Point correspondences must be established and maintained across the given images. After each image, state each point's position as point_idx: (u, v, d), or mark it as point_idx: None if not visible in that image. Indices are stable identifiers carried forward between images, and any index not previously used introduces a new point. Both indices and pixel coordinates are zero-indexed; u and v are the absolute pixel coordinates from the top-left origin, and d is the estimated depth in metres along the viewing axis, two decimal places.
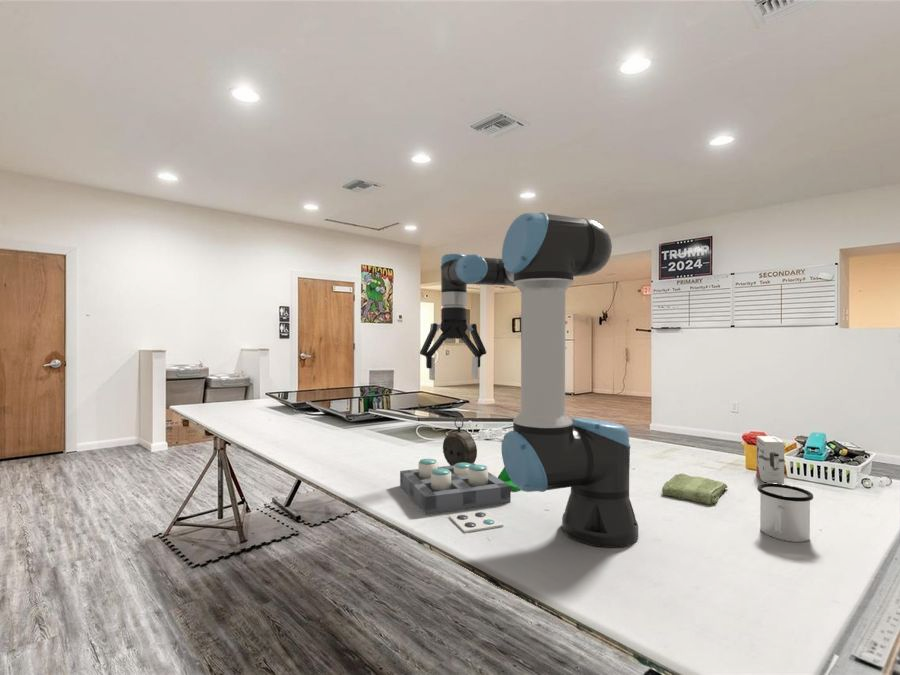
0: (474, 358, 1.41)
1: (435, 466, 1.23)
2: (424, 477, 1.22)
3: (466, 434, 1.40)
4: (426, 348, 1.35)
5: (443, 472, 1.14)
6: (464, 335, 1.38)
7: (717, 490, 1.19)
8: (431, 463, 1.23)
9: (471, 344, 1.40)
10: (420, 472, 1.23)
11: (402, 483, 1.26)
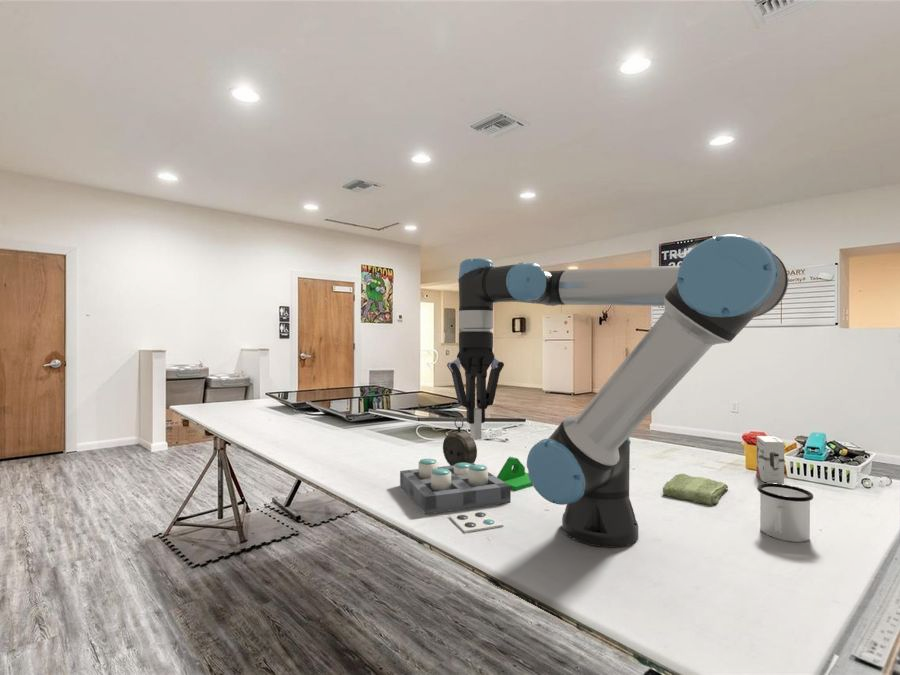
0: None
1: (435, 466, 1.23)
2: (424, 477, 1.22)
3: (466, 434, 1.40)
4: (463, 397, 1.01)
5: (443, 472, 1.14)
6: (483, 371, 1.02)
7: (718, 490, 1.18)
8: (431, 463, 1.23)
9: (483, 387, 1.02)
10: (420, 472, 1.23)
11: (402, 483, 1.26)
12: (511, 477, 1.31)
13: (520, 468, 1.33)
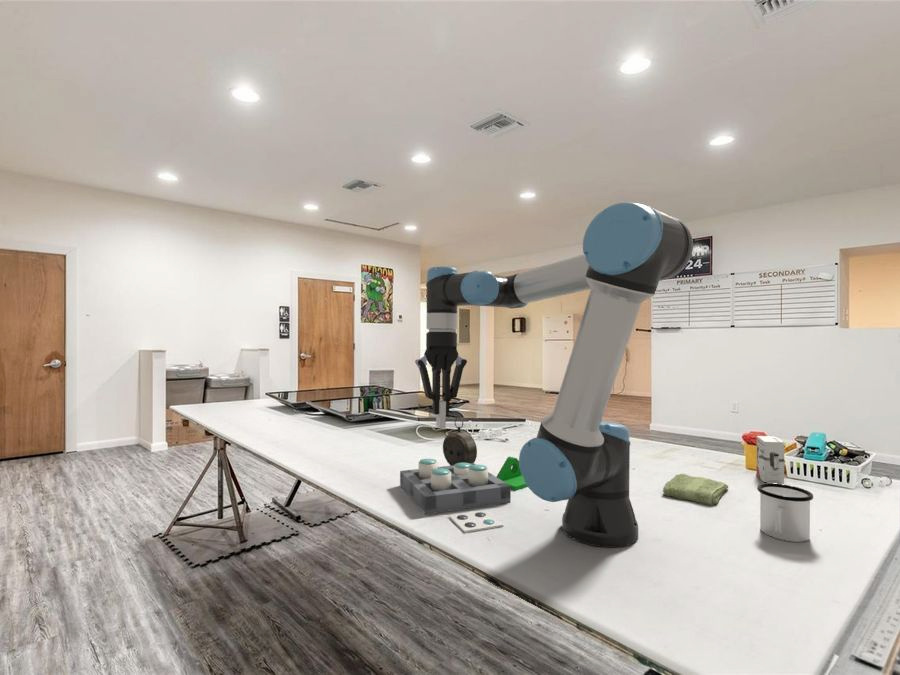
0: None
1: (435, 466, 1.23)
2: (424, 477, 1.22)
3: (466, 434, 1.40)
4: (429, 390, 1.13)
5: (443, 472, 1.14)
6: (448, 367, 1.14)
7: (718, 491, 1.18)
8: (431, 463, 1.23)
9: (448, 382, 1.14)
10: (420, 472, 1.23)
11: (402, 483, 1.26)
12: (510, 477, 1.31)
13: (519, 468, 1.34)
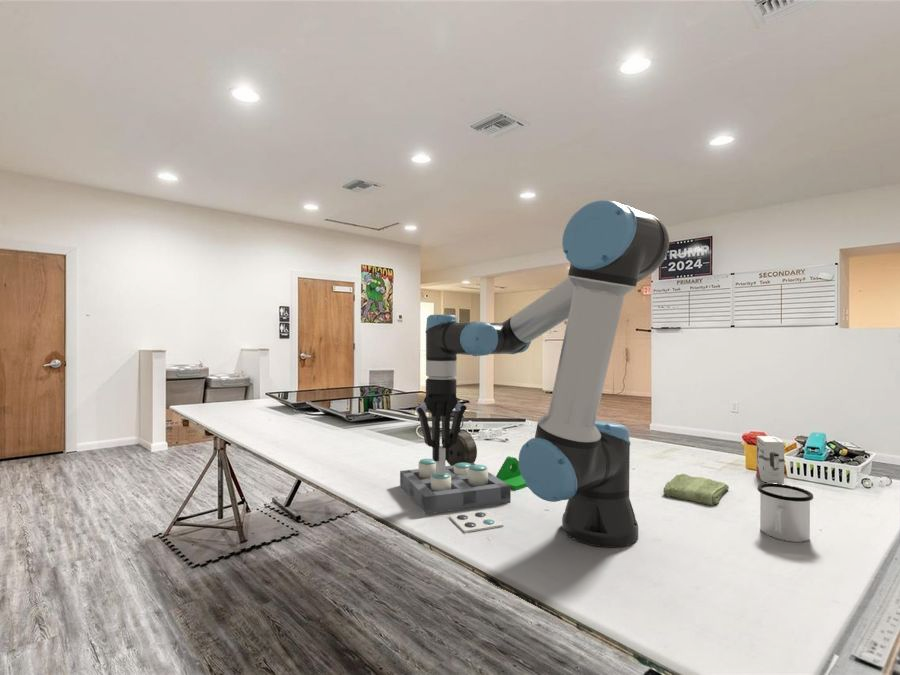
0: None
1: (435, 466, 1.23)
2: (424, 477, 1.22)
3: (466, 434, 1.40)
4: (429, 438, 1.13)
5: (443, 476, 1.14)
6: (447, 414, 1.14)
7: (719, 491, 1.18)
8: (431, 463, 1.23)
9: (447, 428, 1.14)
10: (420, 472, 1.23)
11: (402, 483, 1.26)
12: (509, 477, 1.31)
13: (518, 468, 1.34)
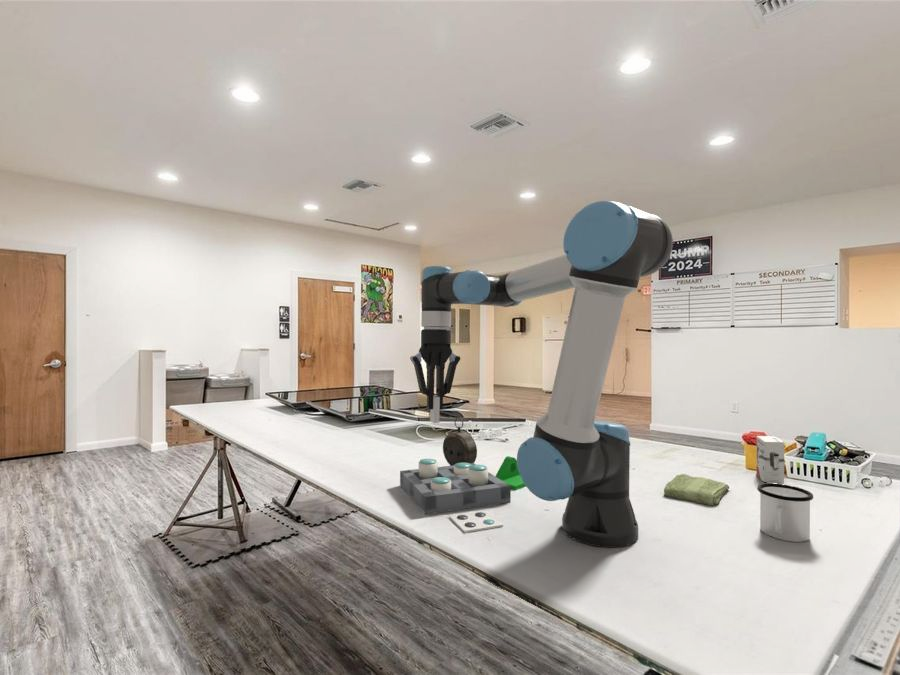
0: None
1: (435, 466, 1.23)
2: (424, 477, 1.22)
3: (466, 434, 1.40)
4: (423, 386, 1.16)
5: (443, 481, 1.14)
6: (442, 363, 1.17)
7: (719, 491, 1.18)
8: (431, 463, 1.23)
9: (441, 378, 1.18)
10: (420, 472, 1.23)
11: (402, 483, 1.26)
12: (509, 477, 1.31)
13: (517, 467, 1.34)
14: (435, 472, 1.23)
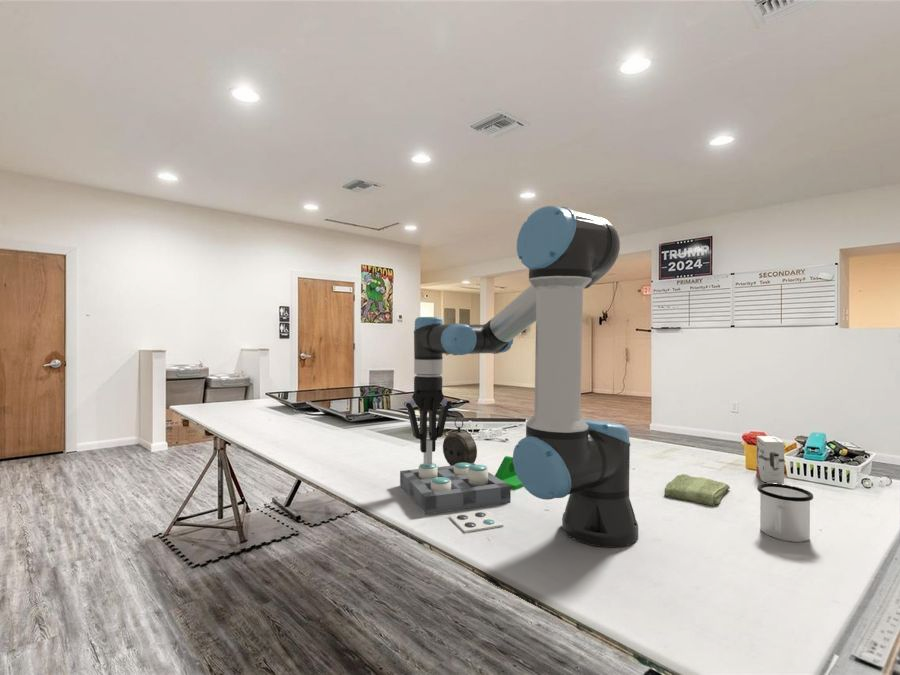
0: None
1: (435, 470, 1.23)
2: None
3: (466, 434, 1.40)
4: (416, 431, 1.22)
5: (443, 481, 1.14)
6: (434, 409, 1.23)
7: (720, 491, 1.18)
8: (431, 467, 1.23)
9: (434, 422, 1.24)
10: (420, 476, 1.23)
11: (402, 483, 1.26)
12: (508, 477, 1.32)
13: None
14: (435, 476, 1.23)
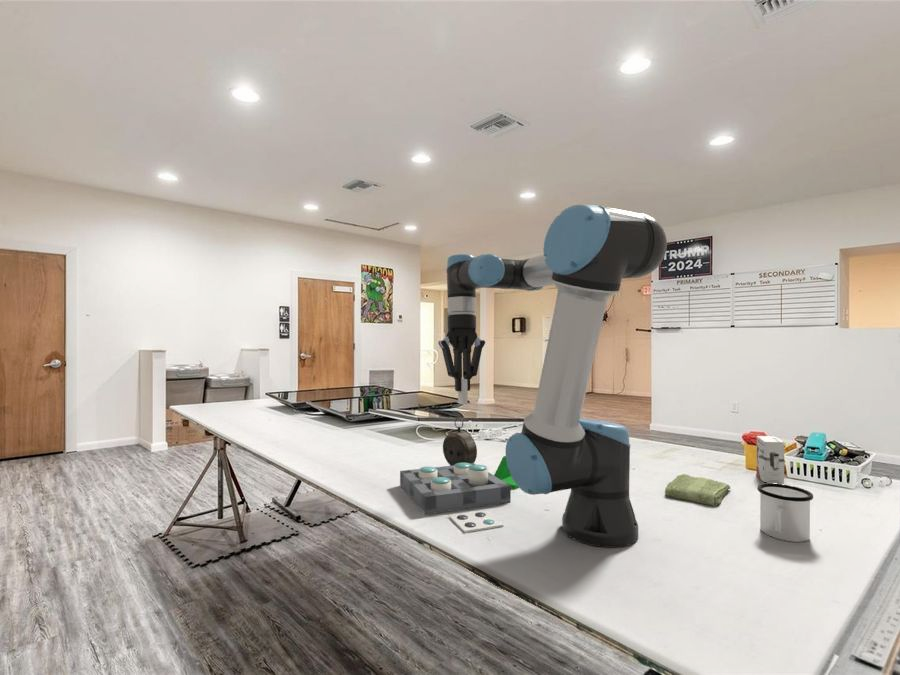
0: None
1: (435, 474, 1.23)
2: None
3: (466, 434, 1.40)
4: (452, 369, 1.21)
5: (443, 481, 1.14)
6: (468, 347, 1.23)
7: (720, 491, 1.18)
8: (431, 471, 1.23)
9: (468, 361, 1.23)
10: None
11: (402, 483, 1.26)
12: (507, 476, 1.32)
13: None
14: None
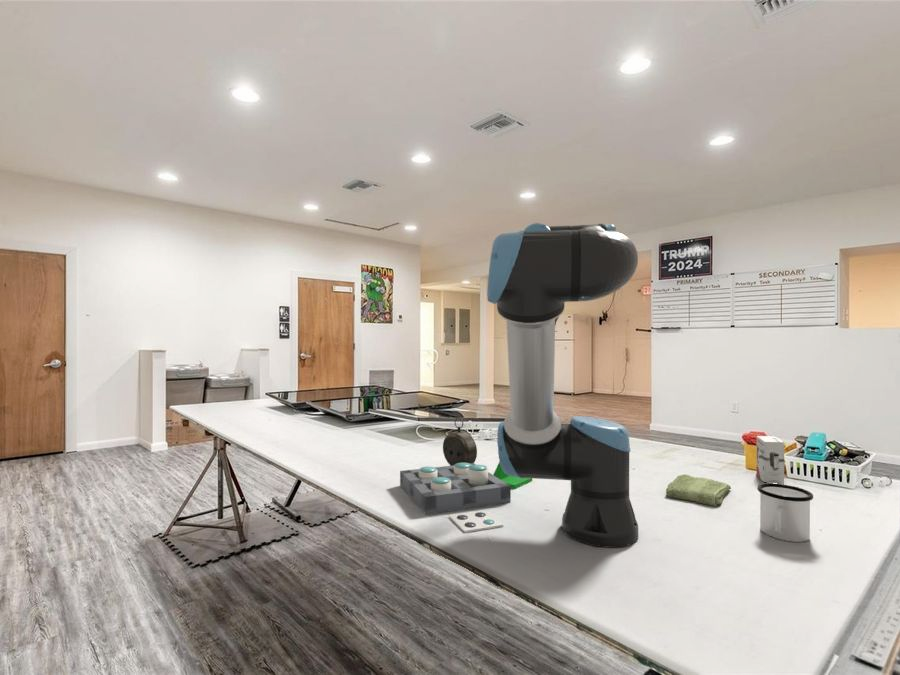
0: None
1: (435, 474, 1.23)
2: None
3: (466, 434, 1.40)
4: None
5: (443, 481, 1.14)
6: None
7: (721, 491, 1.18)
8: (431, 471, 1.23)
9: None
10: None
11: (402, 483, 1.26)
12: (505, 476, 1.32)
13: None
14: None
